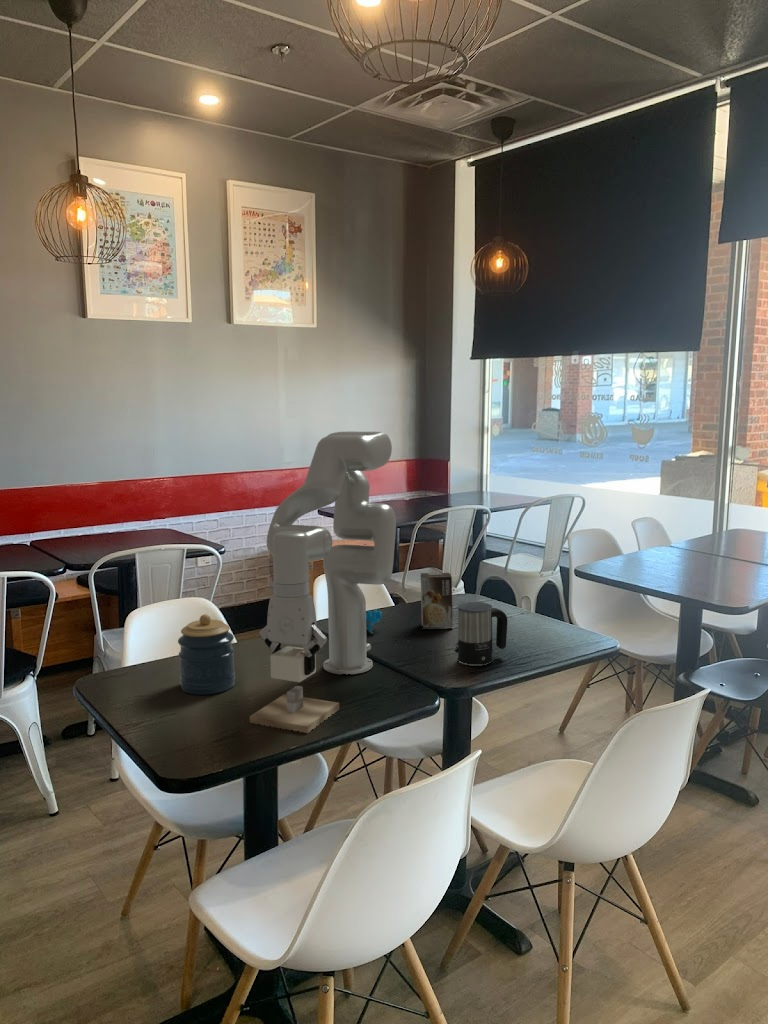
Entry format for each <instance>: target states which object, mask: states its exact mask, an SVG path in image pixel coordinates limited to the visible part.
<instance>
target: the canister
mask: <svg viewBox="0 0 768 1024" xmlns="http://www.w3.org/2000/svg"><path fill="white" fill-rule="evenodd" d="M230 628H231V627H230V626H229V625H228V624H227V623H225V622H224V621H222V620H219V619H218V620H217V619H211V616H210V615H209V614H204V613H203V614H202V615H201V616H199V620H195V621H191V622H189V623H188V624H186V626H184V627H182V628H181V629H180V633H181V634H182V635H181V636H180V637H179V638H178V639H177V644H179V646H180V651H179V652H178V657H179V672H180V673H179V676H180V677H179V685H180V687H181V690H182V691H183V692H184V693H186V694H191V695H199V696H201V695H202V696H203V695H207V696H208V695H214V694H219V693H223V692H226V691H228V690H230V689H231V688H232V687H234V685H235V680H236V673H235V660H234V659H235V657H234V653H235V649H234V647H233V644H232V641H233V640H234V638H235V636H234V634H232V633H231V632H229V630H230Z"/></svg>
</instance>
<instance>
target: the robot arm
mask: <svg viewBox="0 0 768 1024" xmlns="http://www.w3.org/2000/svg"><path fill="white" fill-rule="evenodd" d="M392 447H393V445H392V441H391V439H390V437H389V435H388V434H387V433H386V432H383V431H354V430H353V431H351V430H350V431H336V432H331V433H329V434H328V435H326V436H325V437H323V438H321V439H320V440H318V443H317V445H316V446H315V451H314V454H313V456H312V459H311V462H310V465H309V468H308V471H307V474H306V477H305V479H304V480H305V481H304V483H303V484H302V485H301V486H300V487H298V488H296V490H294V491H293V492H292V493H291V494H289V495H288V496H287V497H286V498H285V499H284V500H283V501H281V503H279V505H278V506H277V508H276V509H275V511H274V513H273V516H272V519H271V522H270V525H269V528H268V531H267V536H266V549H267V551H268V553H269V554H270V556H272V562H273V563H272V567H273V570H272V571H273V580H272V582H271V581H270V583H269V584H268V585H269V586H268V588H269V589H272V590H273V592H272V593H273V594H272V595H270V598H269V603H268V607H267V608H268V609H267V617H266V620H267V621H266V625H265V626H264V627H263V628H261V630H259V635H260V636H261V638H262V639H263V640H264V643H265V645H267V647H268V649H269V652H270V653H271V654H273V653H275V652H277V651H279V650H281V649H282V648H281V647H282V645H288V646H298V647H300V646H301V648H303V649H304V651H305V653H306V656H305V657H304V672H305V675H309V674H311V673H312V672H314V669H315V654H316V655H317V654H318V652H319V651H320V650H321V649H322V648H323V646H324V645H325V644H326V643H327V641H328V656H329V658H328V659H325V660H324V662H323V664H322V665H323V669H324V670H325V671H327V673H329V674H330V673H331V674H333V675H334V674H335V675H342V674H346V675H345V676H347V675H348V674H350V675H357V674H363V673H365V672H369V671H370V670H371V669H372V668H373V666H374V665H373V664H374V663H373V660H372V659H371V658H369V657H367V654H368V653H367V652H368V651H370V650H371V649H372V645H371V644H370V643H368V642H367V627H366V615H367V613H366V612H367V609H366V608H367V607H366V606H367V605H366V604H367V602H366V601H367V600H366V597H365V595H364V592H363V591H362V589H361V587H360V586H359V585H361V584H362V585H385V584H387V583H388V582H390V580H391V578H392V576H393V569H394V560H395V559H394V558H395V548H396V547H395V544H396V532H397V518H396V513H395V510H394V509H393V507H391V506H390V505H389V504H386V503H380V502H379V503H378V502H370V487H371V486H370V482H369V480H368V478H367V476H366V474H364V472H370V471H374V470H377V469H379V468H381V467H384V466H385V465H387V463H389V461H390V459H391V456H392V451H393V448H392ZM333 503H334V510H333V523H332V524H333V526H332V528H333V532H334V535H335V536H336V537H338V539H341V540H350V541H366V542H367V541H368V542H370V541H371V542H373V543H374V545H360V544H359V545H358V544H337V545H333V537H332V534H331V532H330V531H329V530H328V529H327V528H325V527H323V526H319V525H304V524H303V525H302V524H294V523H295V522H296V521H297V520H298V519H300V518H301V517H303V516H304V515H306V514H309V513H312V512H314V511H317V510H320V509H321V508H324V507H327V506H329V505H331V504H333ZM321 560H322V564H323V565H322V566H323V572H324V576H325V580H326V581H325V583H326V589H327V612H328V613H327V615H328V618H327V619H328V637H327V636H326V635H325V634H324V633H323V632H322V631H321V630H320V629H319V628H318V624H317V623H318V622H317V614H316V607H315V602H314V597H313V595H311V593H310V592H311V591H310V590H311V589H310V562H316V561H321ZM316 640H317V642H316V643H314V641H316ZM348 676H349V675H348Z"/></svg>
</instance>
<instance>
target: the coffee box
mask: <svg viewBox="0 0 768 1024" xmlns="http://www.w3.org/2000/svg"><path fill="white" fill-rule="evenodd" d="M452 579H453V577H452V574H451V573H450V572H423V573H422V572H420V603H421V604H420V605H421V607H420V610H421V613H420V614H421V627H422V626H423V627H453V625H454V624H453V581H452ZM453 628H454V627H453Z"/></svg>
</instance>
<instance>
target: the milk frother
mask: <svg viewBox="0 0 768 1024" xmlns="http://www.w3.org/2000/svg"><path fill="white" fill-rule="evenodd" d="M456 608H457V617H458V619H457V625H458V628H457V629H458V631H457V632H458V633H457V634H458V635H457V636H458V637H457V638H458V641H457V642H456V644H455V648H457V649H458V650H457V649H456V650H457V651H458V653H457V659H458V660H459V661H461V662H463V663H467V664H486V663H489V662H491V661H492V659H493V649H494V647H493V618H494V617H495V618H496V636H495V637H496V638H495V644H496V647H497V648H499V649H500V650H504V649H506V645H507V638H508V637H507V634H508V615H507V614H506V613H505V612H504V611H503V610H502V609H499V608H497V607H496V608H495V607H493V605H492V604H490V603H487V602H481V601H480V602H479V601H478V602H477V601H473V602H472V601H471V602H469V601H467V602H463V603H462V602H461V603H460V604H457V606H456Z"/></svg>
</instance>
